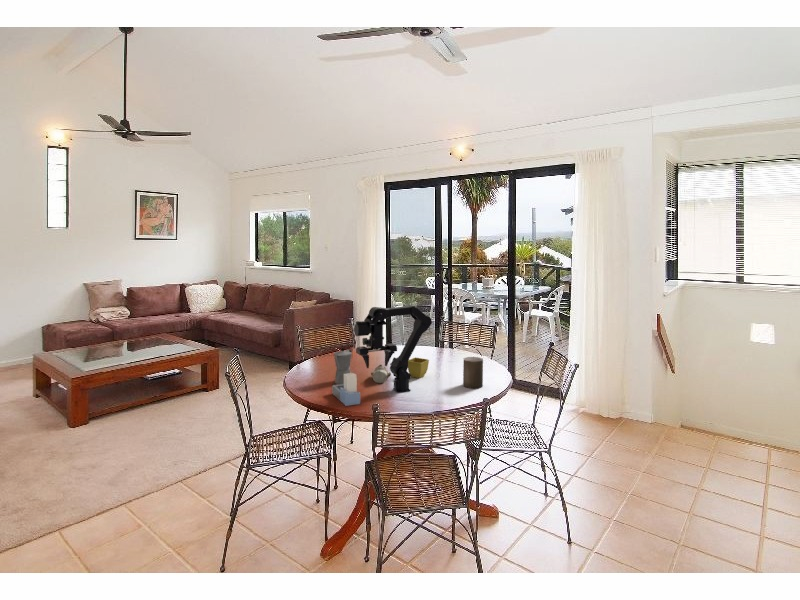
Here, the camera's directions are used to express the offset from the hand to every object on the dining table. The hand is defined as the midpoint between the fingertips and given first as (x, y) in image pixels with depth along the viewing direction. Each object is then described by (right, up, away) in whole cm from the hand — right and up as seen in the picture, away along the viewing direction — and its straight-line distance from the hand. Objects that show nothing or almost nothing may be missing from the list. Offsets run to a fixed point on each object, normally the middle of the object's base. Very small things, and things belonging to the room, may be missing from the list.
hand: (376, 367), depth 229 cm
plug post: (-11, -14, -9) cm, 20 cm away
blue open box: (-16, -13, -1) cm, 21 cm away
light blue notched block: (-12, -14, -9) cm, 21 cm away
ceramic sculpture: (+1, -10, +24) cm, 26 cm away
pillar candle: (+47, -11, +15) cm, 51 cm away
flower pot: (+20, -9, +30) cm, 38 cm away
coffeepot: (-18, -11, +22) cm, 30 cm away
